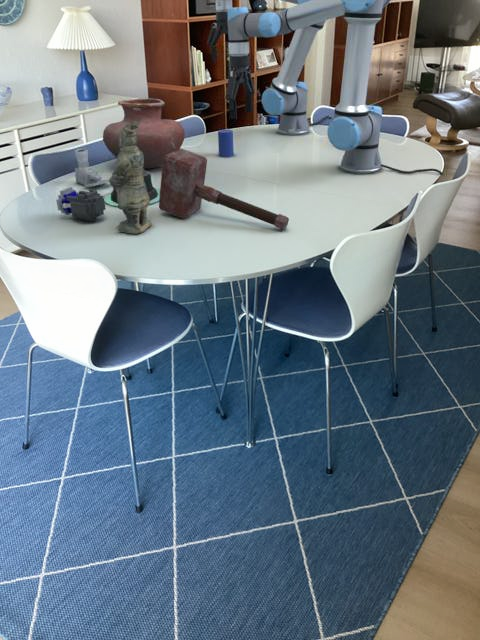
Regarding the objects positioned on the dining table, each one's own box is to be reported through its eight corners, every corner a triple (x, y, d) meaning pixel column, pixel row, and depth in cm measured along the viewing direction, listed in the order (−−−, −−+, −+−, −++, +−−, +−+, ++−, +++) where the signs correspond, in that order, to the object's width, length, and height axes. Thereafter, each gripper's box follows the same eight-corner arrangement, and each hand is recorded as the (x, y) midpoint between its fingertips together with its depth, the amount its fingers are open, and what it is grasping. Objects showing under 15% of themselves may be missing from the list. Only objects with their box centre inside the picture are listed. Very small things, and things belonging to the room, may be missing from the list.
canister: (218, 154, 236) (217, 129, 231) (232, 153, 237) (232, 129, 232) (219, 157, 231) (218, 132, 226) (234, 156, 232) (233, 132, 227)
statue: (131, 220, 168) (117, 116, 152) (158, 224, 164) (147, 118, 149) (109, 233, 159) (93, 124, 144) (138, 237, 156) (124, 126, 140)
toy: (69, 184, 172) (107, 190, 166) (73, 210, 176) (111, 217, 170) (49, 192, 165) (88, 198, 160) (54, 219, 170) (93, 226, 164)
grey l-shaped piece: (86, 146, 202) (111, 153, 193) (91, 178, 208) (115, 186, 199) (65, 151, 196) (90, 158, 187) (70, 183, 202) (95, 192, 193)
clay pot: (194, 158, 230) (190, 94, 217) (174, 179, 204) (168, 107, 192) (124, 156, 235) (116, 93, 222) (96, 176, 209) (85, 106, 197)
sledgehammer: (299, 190, 156) (179, 147, 167) (285, 200, 148) (161, 154, 160) (286, 244, 166) (174, 200, 177) (272, 256, 158) (156, 209, 170)
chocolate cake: (91, 202, 180) (113, 186, 197) (142, 231, 182) (160, 212, 199) (107, 162, 172) (129, 148, 190) (160, 192, 174) (177, 176, 192)
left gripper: (197, 11, 255) (200, 62, 265) (241, 11, 242) (242, 64, 252) (208, 10, 260) (210, 60, 271) (251, 10, 247) (251, 62, 257)
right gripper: (244, 52, 216) (246, 109, 226) (214, 58, 197) (217, 120, 207) (262, 52, 213) (263, 110, 223) (232, 58, 194) (235, 121, 204)
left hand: (225, 62), depth 261 cm, fingers open, 13 cm apart
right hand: (241, 115), depth 215 cm, fingers open, 13 cm apart
